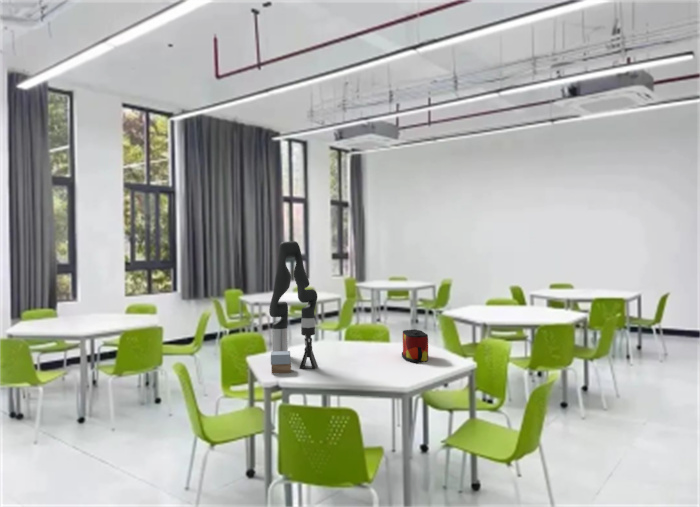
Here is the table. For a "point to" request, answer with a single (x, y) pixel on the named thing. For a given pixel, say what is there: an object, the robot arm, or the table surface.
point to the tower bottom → (281, 368)
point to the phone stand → (312, 360)
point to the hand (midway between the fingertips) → (308, 355)
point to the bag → (415, 346)
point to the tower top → (280, 357)
